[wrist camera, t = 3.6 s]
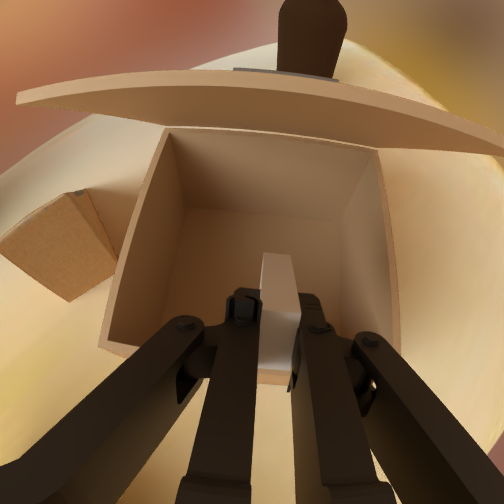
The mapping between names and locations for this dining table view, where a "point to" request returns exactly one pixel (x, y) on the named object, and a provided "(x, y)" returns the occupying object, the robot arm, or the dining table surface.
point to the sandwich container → (62, 245)
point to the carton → (254, 235)
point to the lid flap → (270, 107)
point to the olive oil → (310, 36)
